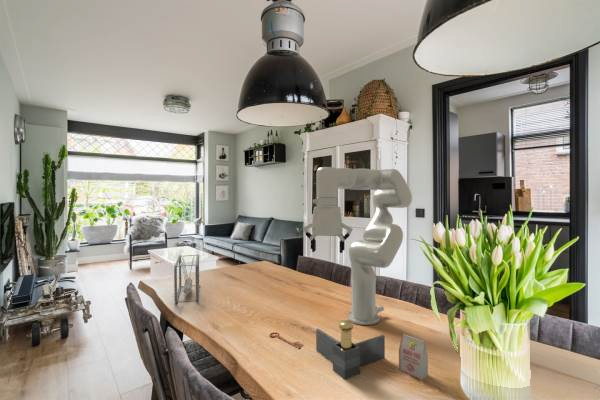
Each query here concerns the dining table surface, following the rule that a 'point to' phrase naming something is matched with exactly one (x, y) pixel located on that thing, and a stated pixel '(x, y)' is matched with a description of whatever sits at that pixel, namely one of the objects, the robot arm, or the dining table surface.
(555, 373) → the dining table surface
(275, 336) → the key
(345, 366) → the bracket
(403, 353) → the tea bag
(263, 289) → the dining table surface
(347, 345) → the hinge pin
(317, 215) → the robot arm
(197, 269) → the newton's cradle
